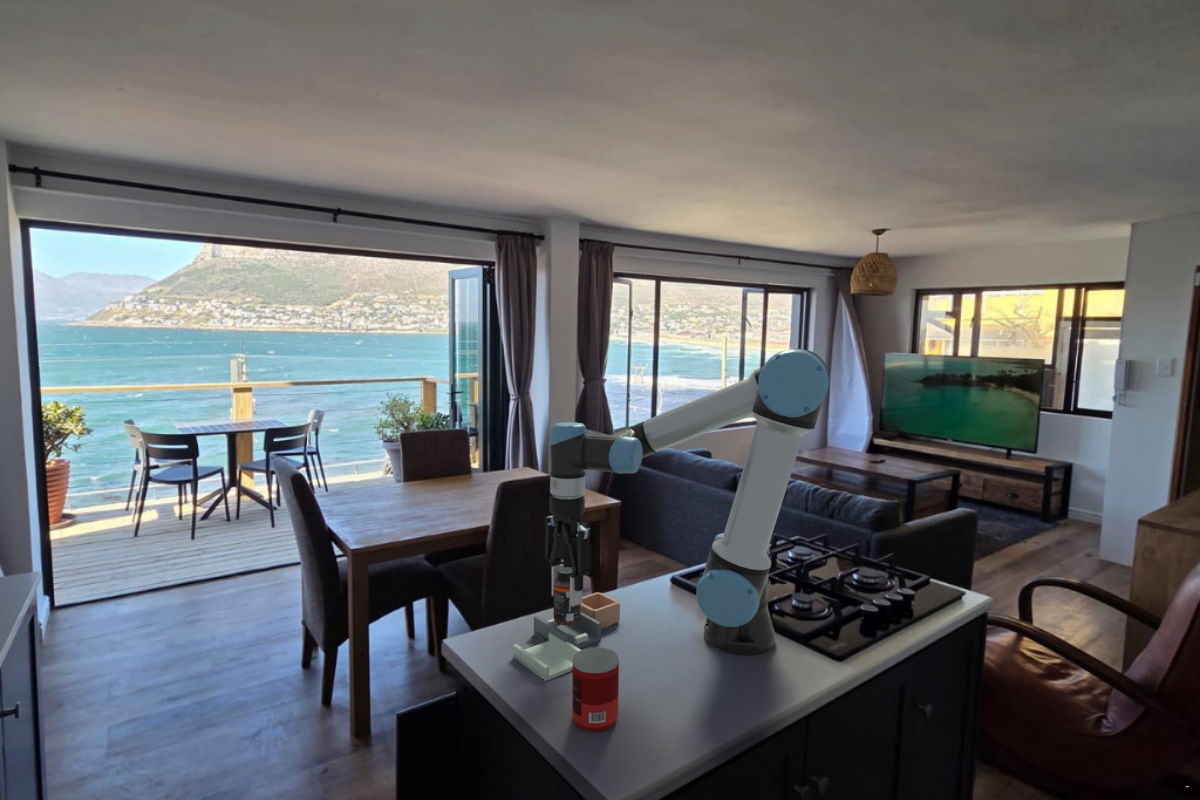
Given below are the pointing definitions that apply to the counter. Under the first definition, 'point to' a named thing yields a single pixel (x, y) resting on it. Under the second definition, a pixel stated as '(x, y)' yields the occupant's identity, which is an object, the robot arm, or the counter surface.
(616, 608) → the open cardboard box
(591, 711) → the canned food
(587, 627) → the checker cradle
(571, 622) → the supplement bottle
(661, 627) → the counter surface
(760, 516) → the robot arm
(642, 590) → the counter surface
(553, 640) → the trough
